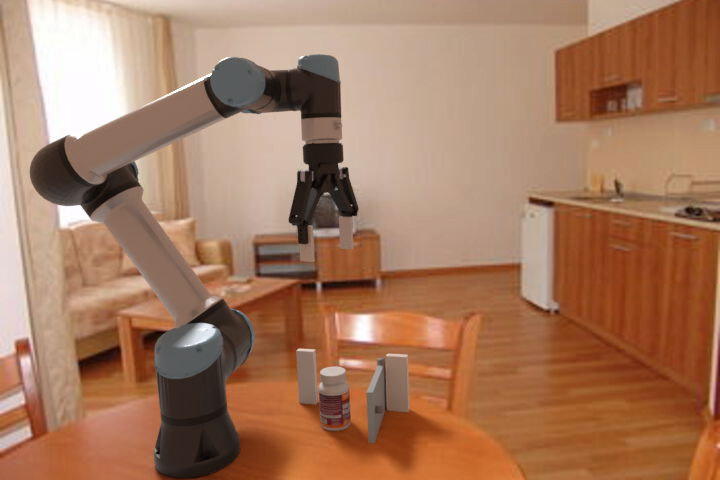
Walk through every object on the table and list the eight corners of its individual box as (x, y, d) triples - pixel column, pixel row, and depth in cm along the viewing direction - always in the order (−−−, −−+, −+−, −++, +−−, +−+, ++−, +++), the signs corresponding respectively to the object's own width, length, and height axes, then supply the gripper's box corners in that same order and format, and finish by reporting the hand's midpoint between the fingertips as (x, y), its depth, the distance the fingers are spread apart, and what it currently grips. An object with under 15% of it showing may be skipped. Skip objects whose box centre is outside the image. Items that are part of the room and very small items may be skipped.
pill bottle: (349, 431, 110) (347, 376, 109) (318, 432, 111) (315, 377, 109) (352, 417, 116) (349, 365, 115) (322, 417, 117) (319, 365, 115)
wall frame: (299, 403, 124) (296, 350, 122) (301, 400, 126) (298, 348, 124) (408, 412, 118) (406, 357, 116) (409, 409, 119) (408, 354, 117)
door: (379, 406, 121) (377, 357, 119) (391, 407, 120) (390, 357, 119) (366, 442, 106) (364, 387, 104) (381, 443, 105) (379, 387, 104)
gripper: (298, 141, 92) (305, 268, 96) (372, 141, 114) (376, 245, 117) (263, 143, 96) (271, 265, 99) (341, 143, 117) (345, 243, 121)
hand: (328, 254), depth 108 cm, fingers open, 13 cm apart
